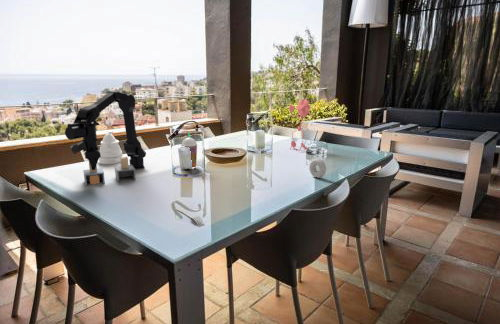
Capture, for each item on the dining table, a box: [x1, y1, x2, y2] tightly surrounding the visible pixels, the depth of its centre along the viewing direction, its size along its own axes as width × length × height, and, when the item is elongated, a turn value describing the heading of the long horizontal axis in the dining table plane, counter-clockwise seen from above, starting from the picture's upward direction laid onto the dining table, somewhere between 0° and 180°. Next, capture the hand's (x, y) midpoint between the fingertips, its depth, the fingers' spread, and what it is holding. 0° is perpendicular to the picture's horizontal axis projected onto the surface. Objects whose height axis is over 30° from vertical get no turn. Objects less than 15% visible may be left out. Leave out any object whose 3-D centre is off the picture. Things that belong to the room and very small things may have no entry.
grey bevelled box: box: [114, 156, 137, 182], centre depth 166 cm, size 8×8×10 cm
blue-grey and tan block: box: [82, 160, 106, 187], centre depth 160 cm, size 8×8×10 cm
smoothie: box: [181, 132, 198, 168], centre depth 183 cm, size 8×8×20 cm
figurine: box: [288, 98, 316, 152], centre depth 232 cm, size 15×26×35 cm, turn 34°
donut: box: [308, 157, 327, 179], centre depth 171 cm, size 10×3×10 cm, turn 38°
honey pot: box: [98, 130, 123, 165], centre depth 198 cm, size 13×13×18 cm
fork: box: [174, 207, 206, 228], centre depth 124 cm, size 3×21×3 cm, turn 36°
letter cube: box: [89, 174, 100, 185], centre depth 161 cm, size 4×4×4 cm
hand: (93, 169), depth 160 cm, fingers closed on blue-grey and tan block, 3 cm apart
